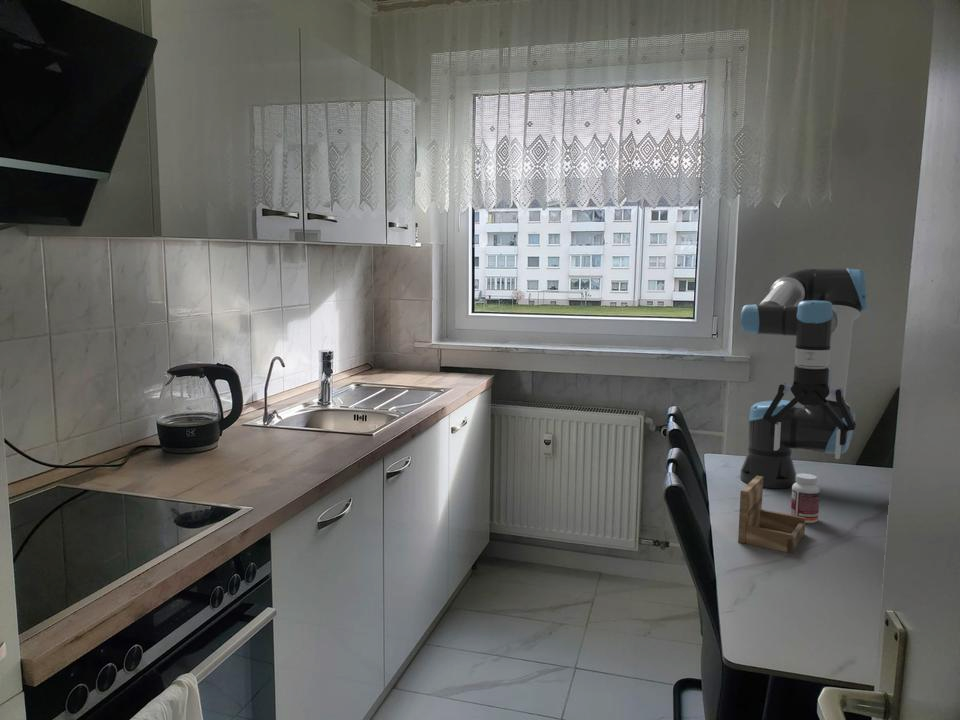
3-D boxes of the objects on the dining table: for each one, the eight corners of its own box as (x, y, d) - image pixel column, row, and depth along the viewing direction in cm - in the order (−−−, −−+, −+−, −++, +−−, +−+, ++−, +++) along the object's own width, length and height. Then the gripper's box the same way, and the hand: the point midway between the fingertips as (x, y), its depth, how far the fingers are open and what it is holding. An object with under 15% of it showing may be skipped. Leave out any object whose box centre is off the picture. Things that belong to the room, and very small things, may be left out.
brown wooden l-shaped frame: (754, 523, 174) (756, 475, 172) (804, 533, 167) (807, 483, 166) (738, 542, 162) (740, 490, 161) (791, 553, 156) (794, 500, 154)
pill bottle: (823, 520, 176) (826, 477, 174) (808, 525, 172) (811, 481, 171) (799, 513, 181) (802, 471, 179) (785, 518, 177) (787, 475, 176)
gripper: (752, 364, 174) (748, 449, 177) (868, 373, 160) (862, 465, 163) (760, 360, 180) (756, 442, 183) (873, 368, 166) (866, 457, 169)
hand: (806, 453), depth 173 cm, fingers open, 13 cm apart
